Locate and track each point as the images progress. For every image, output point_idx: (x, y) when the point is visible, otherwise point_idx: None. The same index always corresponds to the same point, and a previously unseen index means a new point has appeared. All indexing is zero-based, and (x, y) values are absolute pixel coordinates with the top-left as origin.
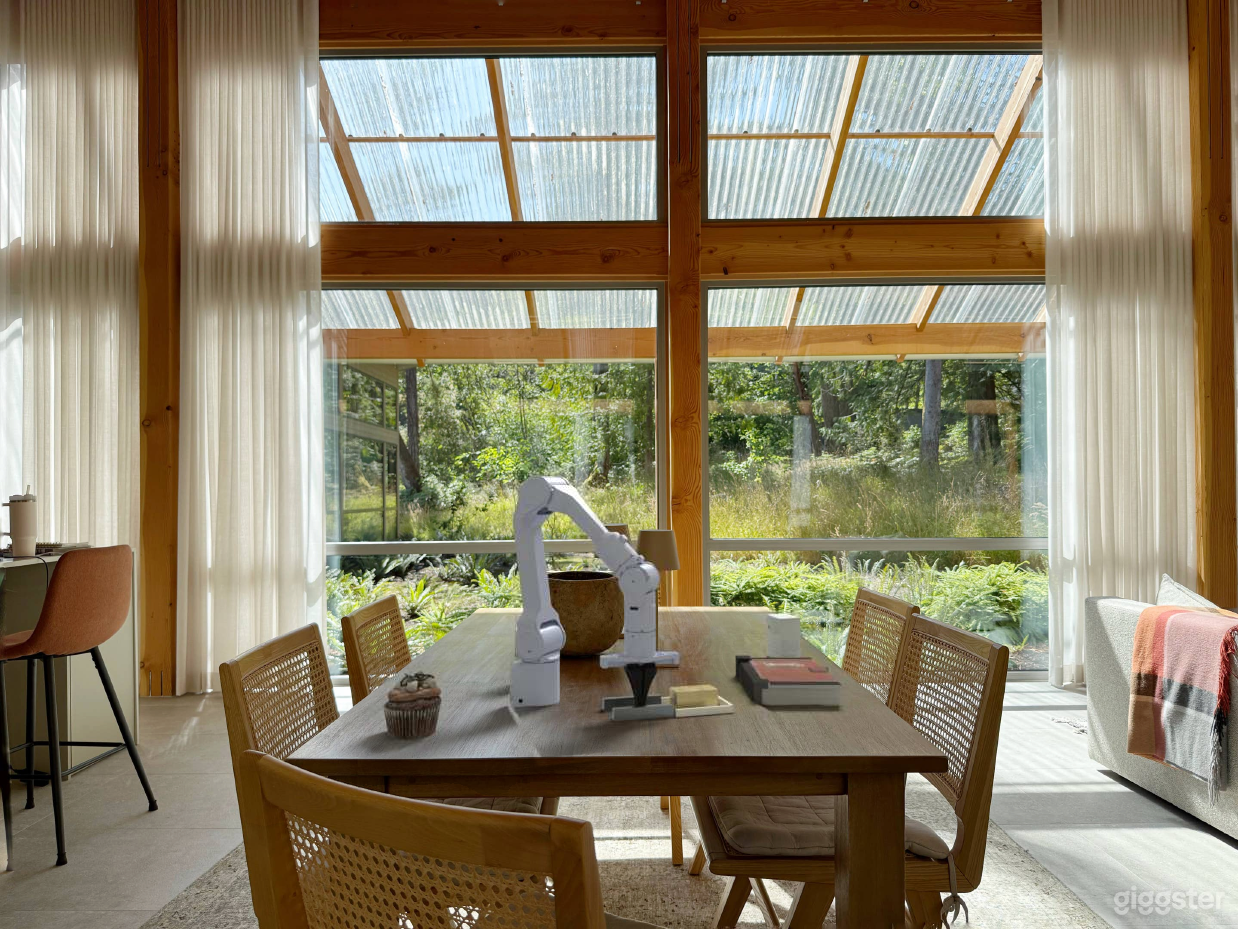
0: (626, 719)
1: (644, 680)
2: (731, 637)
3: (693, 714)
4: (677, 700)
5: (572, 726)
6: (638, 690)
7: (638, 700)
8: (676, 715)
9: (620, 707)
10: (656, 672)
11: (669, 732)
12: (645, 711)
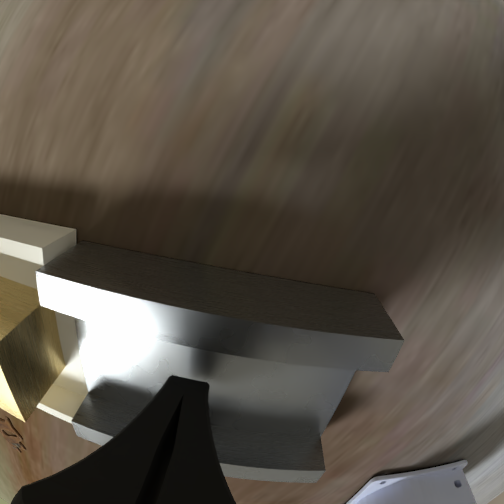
0: (322, 299)
1: (138, 491)
2: (4, 498)
3: (2, 224)
4: (14, 323)
5: (471, 352)
6: (197, 449)
7: (204, 404)
8: (57, 239)
9: (350, 364)
10: (19, 492)
11: (167, 91)
12: (205, 299)
